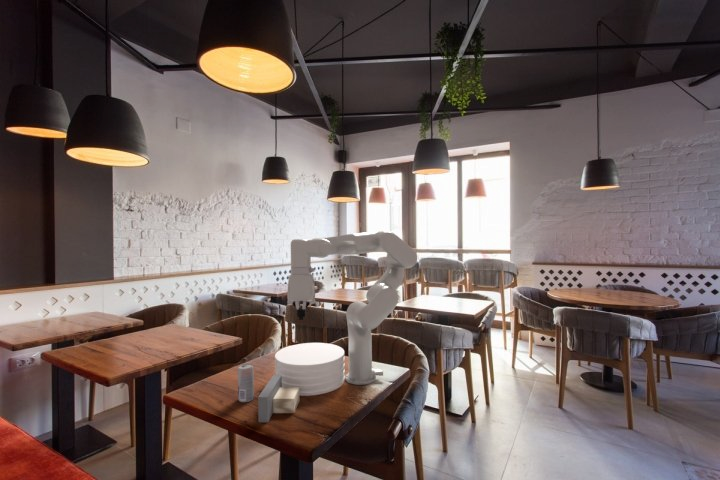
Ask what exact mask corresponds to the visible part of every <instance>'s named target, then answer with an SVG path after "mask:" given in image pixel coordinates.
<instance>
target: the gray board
mask: <svg viewBox="0 0 720 480" xmlns="http://www.w3.org/2000/svg"><path fill="white" fill-rule="evenodd" d="M280 387H282V375H275V374H273V375H272V377H271V378H270V380H269V381H267V383H266V385H265V387H264V388H263V389H262V391H261V392H260V394H259V396H257V404H258V405H257V407H258V408H257V411H258V413H257V414H258V418H257V419H258V420H257V421H258V423H269V421H270V419H271V417H272V415H273V414H274V413H273V398H274V396H275V395H276V393H277V391H278V390H279V388H280Z"/></svg>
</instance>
